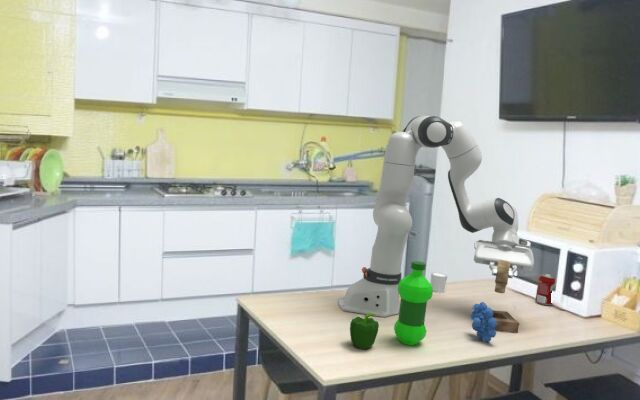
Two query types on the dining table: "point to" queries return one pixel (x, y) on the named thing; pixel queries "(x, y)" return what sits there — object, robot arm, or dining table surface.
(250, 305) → the dining table surface
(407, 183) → the robot arm
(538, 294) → the soda can
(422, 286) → the plastic bottle
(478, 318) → the grapes
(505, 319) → the wooden tray
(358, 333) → the bell pepper
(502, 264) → the oak peg
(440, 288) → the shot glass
